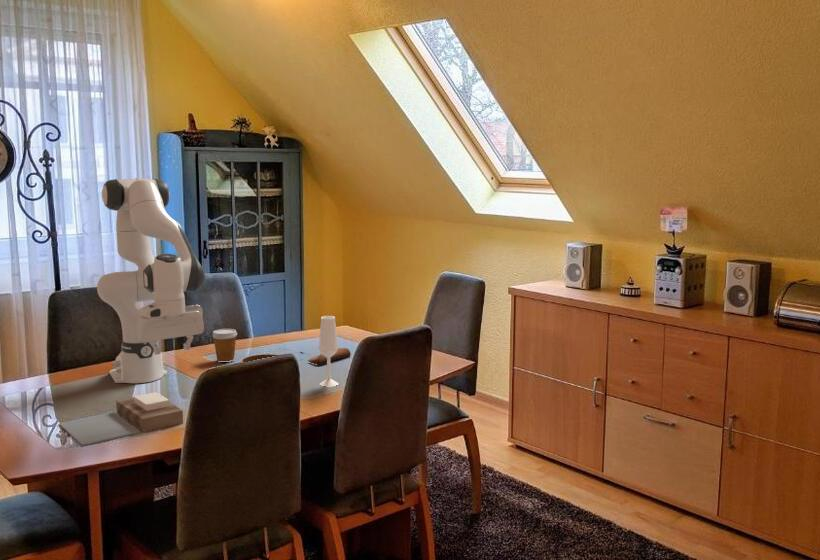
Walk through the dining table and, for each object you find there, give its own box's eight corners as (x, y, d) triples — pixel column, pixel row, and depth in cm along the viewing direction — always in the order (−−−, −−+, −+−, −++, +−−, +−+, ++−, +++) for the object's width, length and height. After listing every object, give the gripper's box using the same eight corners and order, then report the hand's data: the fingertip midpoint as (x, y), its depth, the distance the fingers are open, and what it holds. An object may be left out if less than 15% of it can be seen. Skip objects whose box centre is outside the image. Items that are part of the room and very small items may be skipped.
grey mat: (58, 424, 224) (58, 423, 224) (113, 413, 235) (113, 411, 234) (82, 446, 208) (82, 444, 208) (140, 433, 218) (140, 431, 218)
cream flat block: (134, 402, 232) (134, 396, 232) (156, 398, 237) (156, 392, 236) (146, 411, 225) (146, 404, 224) (169, 406, 229) (169, 399, 229)
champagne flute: (325, 388, 261) (324, 320, 257) (315, 383, 266) (314, 316, 263) (342, 384, 265) (341, 317, 261) (332, 380, 270) (331, 314, 266)
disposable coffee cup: (231, 365, 290) (230, 334, 288) (208, 363, 292) (207, 333, 290) (242, 358, 299) (241, 329, 297) (220, 357, 301) (219, 327, 299)
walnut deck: (116, 412, 235) (116, 400, 235) (154, 404, 243) (153, 392, 242) (143, 432, 219) (142, 419, 218) (183, 423, 226) (182, 410, 226)
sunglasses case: (335, 353, 307) (341, 340, 304) (346, 364, 304) (352, 351, 301) (303, 362, 293) (309, 349, 290) (315, 374, 290) (321, 361, 287)
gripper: (198, 302, 239) (199, 344, 242) (133, 310, 227) (136, 355, 229) (206, 305, 235) (208, 348, 237) (141, 313, 222) (143, 359, 224)
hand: (172, 351), depth 233 cm, fingers open, 8 cm apart
